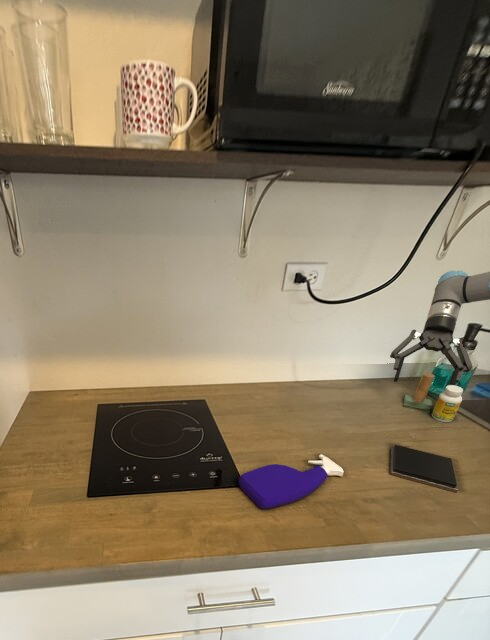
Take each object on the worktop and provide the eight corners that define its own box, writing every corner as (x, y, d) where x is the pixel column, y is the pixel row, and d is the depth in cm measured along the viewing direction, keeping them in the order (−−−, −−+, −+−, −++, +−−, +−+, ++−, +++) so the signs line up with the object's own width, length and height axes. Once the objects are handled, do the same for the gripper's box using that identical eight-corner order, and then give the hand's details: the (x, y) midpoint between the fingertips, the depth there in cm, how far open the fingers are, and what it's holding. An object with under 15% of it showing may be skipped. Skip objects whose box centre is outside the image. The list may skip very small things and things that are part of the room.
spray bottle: (267, 503, 74) (356, 473, 84) (234, 471, 83) (319, 447, 92) (264, 515, 76) (352, 483, 86) (232, 482, 84) (316, 457, 94)
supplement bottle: (447, 412, 113) (460, 383, 108) (456, 422, 109) (470, 393, 103) (427, 412, 114) (439, 383, 108) (436, 422, 110) (449, 393, 104)
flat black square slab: (450, 463, 93) (453, 457, 92) (456, 493, 83) (460, 486, 83) (390, 448, 97) (392, 443, 96) (389, 474, 88) (392, 468, 87)
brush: (428, 407, 117) (442, 375, 112) (428, 412, 114) (443, 380, 109) (402, 401, 120) (414, 370, 114) (402, 407, 117) (415, 374, 111)
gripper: (397, 307, 117) (377, 370, 113) (498, 322, 107) (479, 391, 104) (391, 320, 123) (372, 380, 120) (485, 335, 114) (468, 400, 111)
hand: (422, 385), depth 112 cm, fingers open, 13 cm apart
